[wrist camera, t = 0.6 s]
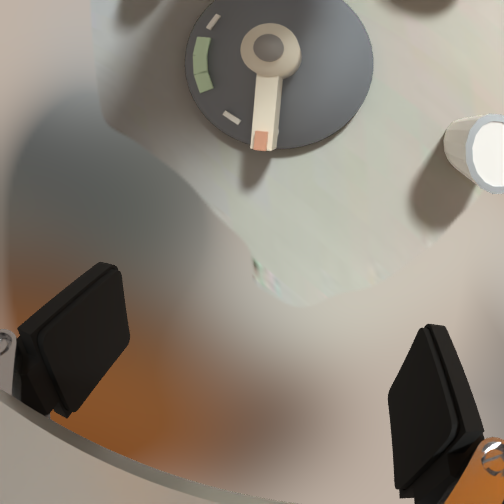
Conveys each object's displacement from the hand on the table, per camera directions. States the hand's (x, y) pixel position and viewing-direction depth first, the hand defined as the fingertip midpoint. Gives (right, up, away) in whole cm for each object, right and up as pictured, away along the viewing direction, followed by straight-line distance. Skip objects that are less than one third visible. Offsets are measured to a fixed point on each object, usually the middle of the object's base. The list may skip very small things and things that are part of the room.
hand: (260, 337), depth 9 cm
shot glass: (+21, +13, +17) cm, 30 cm away
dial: (+2, +21, +17) cm, 27 cm away
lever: (+2, +17, +17) cm, 25 cm away
